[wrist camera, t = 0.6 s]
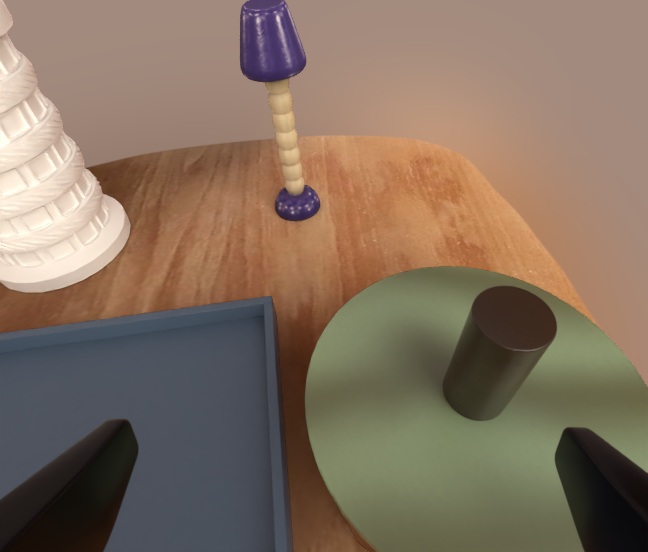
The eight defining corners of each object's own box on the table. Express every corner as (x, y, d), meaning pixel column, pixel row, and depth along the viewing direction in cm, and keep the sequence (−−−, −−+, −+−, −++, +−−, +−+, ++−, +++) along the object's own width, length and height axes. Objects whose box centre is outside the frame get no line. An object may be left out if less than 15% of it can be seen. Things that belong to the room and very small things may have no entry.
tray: (307, 747, 16) (301, 763, 14) (-259, 858, 15) (-347, 892, 13) (276, 316, 30) (271, 295, 28) (-18, 357, 29) (-44, 338, 27)
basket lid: (755, 573, 15) (994, 543, 9) (332, 651, 14) (319, 670, 8) (543, 263, 25) (597, 162, 19) (293, 298, 24) (276, 203, 19)
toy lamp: (293, 230, 36) (261, 18, 23) (259, 209, 38) (213, 5, 26) (329, 204, 38) (318, -3, 25) (295, 185, 40) (269, -14, 28)
